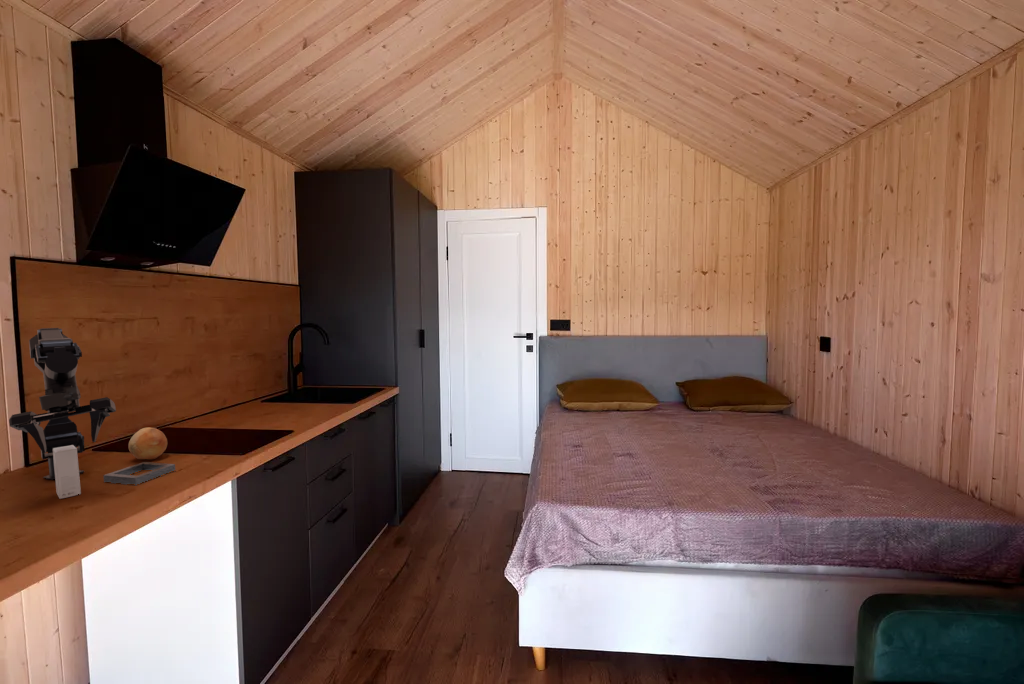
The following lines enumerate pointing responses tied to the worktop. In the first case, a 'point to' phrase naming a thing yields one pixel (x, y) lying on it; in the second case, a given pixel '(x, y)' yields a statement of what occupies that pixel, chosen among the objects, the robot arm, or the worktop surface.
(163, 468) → the silver metal square frame
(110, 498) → the worktop surface
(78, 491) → the skincare box
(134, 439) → the onion
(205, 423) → the worktop surface
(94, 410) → the robot arm
